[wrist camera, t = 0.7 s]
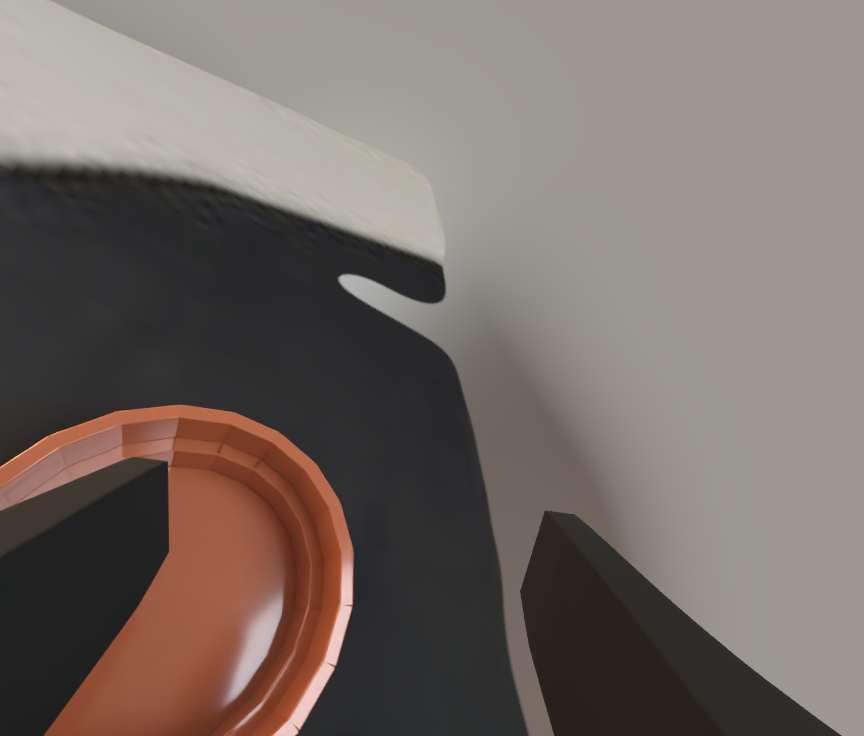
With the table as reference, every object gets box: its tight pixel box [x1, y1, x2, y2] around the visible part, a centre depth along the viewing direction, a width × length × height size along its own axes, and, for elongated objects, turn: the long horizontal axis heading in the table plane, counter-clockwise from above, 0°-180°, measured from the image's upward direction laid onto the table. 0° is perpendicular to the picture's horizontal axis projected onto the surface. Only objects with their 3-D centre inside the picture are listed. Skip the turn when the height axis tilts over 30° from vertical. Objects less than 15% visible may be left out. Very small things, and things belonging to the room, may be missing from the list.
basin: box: [0, 405, 354, 736], centre depth 17 cm, size 13×13×5 cm
